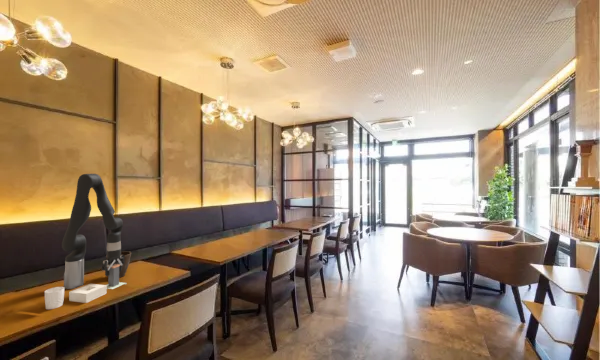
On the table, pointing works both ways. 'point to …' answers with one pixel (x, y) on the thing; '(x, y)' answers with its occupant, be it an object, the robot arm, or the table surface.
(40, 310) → the table surface
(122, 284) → the mat
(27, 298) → the table surface
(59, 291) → the white cup
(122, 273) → the plant pot
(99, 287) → the block
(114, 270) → the plug
